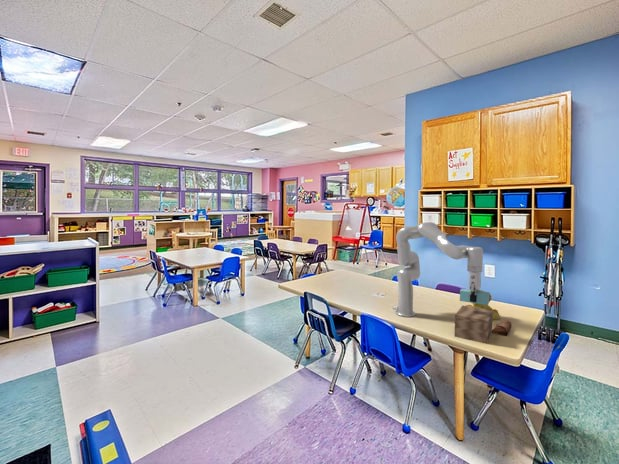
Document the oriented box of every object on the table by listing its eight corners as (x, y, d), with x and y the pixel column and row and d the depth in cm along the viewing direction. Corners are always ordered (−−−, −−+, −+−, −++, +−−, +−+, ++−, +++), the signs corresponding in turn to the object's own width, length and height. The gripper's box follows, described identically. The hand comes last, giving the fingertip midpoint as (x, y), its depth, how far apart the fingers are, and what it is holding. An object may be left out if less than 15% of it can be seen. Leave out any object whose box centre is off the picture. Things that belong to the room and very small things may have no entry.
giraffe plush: (503, 317, 198) (504, 288, 197) (487, 325, 184) (488, 295, 183) (471, 309, 215) (472, 282, 213) (454, 316, 200) (455, 288, 199)
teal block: (459, 300, 173) (460, 290, 173) (461, 298, 177) (461, 288, 177) (487, 305, 165) (488, 294, 164) (488, 302, 169) (489, 292, 169)
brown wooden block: (454, 336, 169) (455, 314, 168) (461, 325, 185) (462, 305, 184) (487, 343, 160) (488, 320, 159) (492, 331, 175) (492, 310, 174)
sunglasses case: (495, 323, 188) (502, 315, 185) (506, 331, 184) (513, 323, 182) (490, 332, 174) (497, 324, 171) (502, 341, 170) (510, 333, 168)
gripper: (479, 272, 161) (479, 305, 162) (484, 267, 174) (483, 298, 175) (464, 270, 165) (463, 303, 167) (470, 265, 179) (469, 295, 180)
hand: (474, 300), depth 171 cm, fingers closed on teal block, 5 cm apart
